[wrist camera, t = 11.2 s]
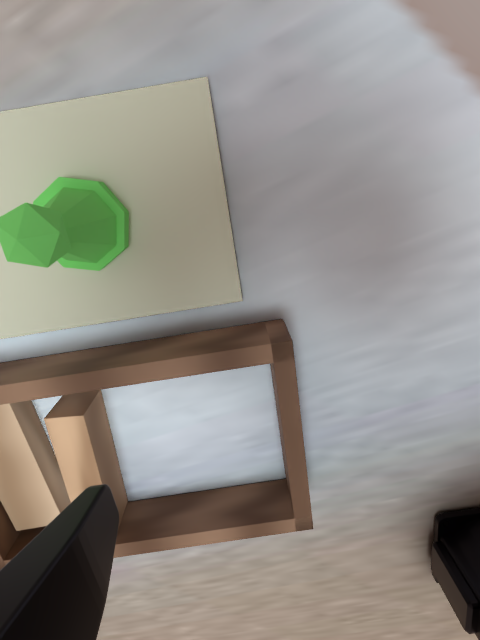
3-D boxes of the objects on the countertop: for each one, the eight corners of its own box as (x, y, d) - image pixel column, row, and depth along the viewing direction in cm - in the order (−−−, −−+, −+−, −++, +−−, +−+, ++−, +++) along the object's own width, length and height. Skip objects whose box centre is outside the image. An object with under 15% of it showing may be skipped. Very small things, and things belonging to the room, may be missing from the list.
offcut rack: (282, 318, 19) (292, 340, 17) (302, 488, 23) (313, 529, 21) (-58, 371, 20) (-105, 402, 17) (20, 529, 24) (-7, 575, 21)
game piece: (22, 191, 16) (-87, 190, 11) (110, 163, 16) (47, 147, 10) (63, 280, 18) (-13, 320, 12) (145, 255, 17) (106, 285, 12)
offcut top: (67, 389, 21) (101, 386, 21) (98, 500, 24) (128, 497, 24) (44, 418, 18) (83, 415, 18) (82, 539, 21) (116, 536, 21)
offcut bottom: (26, 377, 20) (6, 396, 19) (77, 496, 23) (64, 522, 22) (-25, 386, 21) (-50, 406, 19) (33, 504, 24) (16, 531, 22)
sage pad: (207, 80, 15) (207, 76, 15) (242, 298, 19) (242, 301, 18) (-105, 132, 16) (-115, 131, 15) (-15, 338, 19) (-22, 342, 19)
